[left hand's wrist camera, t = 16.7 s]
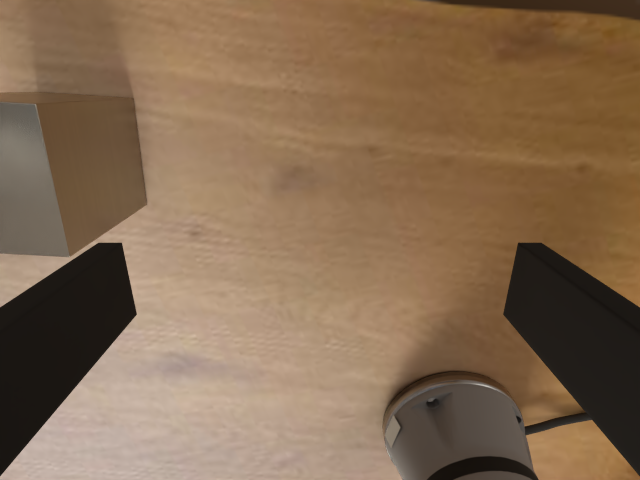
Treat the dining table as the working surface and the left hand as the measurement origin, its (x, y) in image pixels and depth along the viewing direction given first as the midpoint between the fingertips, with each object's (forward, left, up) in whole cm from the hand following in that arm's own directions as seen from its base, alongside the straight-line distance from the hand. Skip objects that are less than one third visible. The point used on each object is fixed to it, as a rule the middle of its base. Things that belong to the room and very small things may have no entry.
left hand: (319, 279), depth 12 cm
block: (+18, +4, -21) cm, 28 cm away
